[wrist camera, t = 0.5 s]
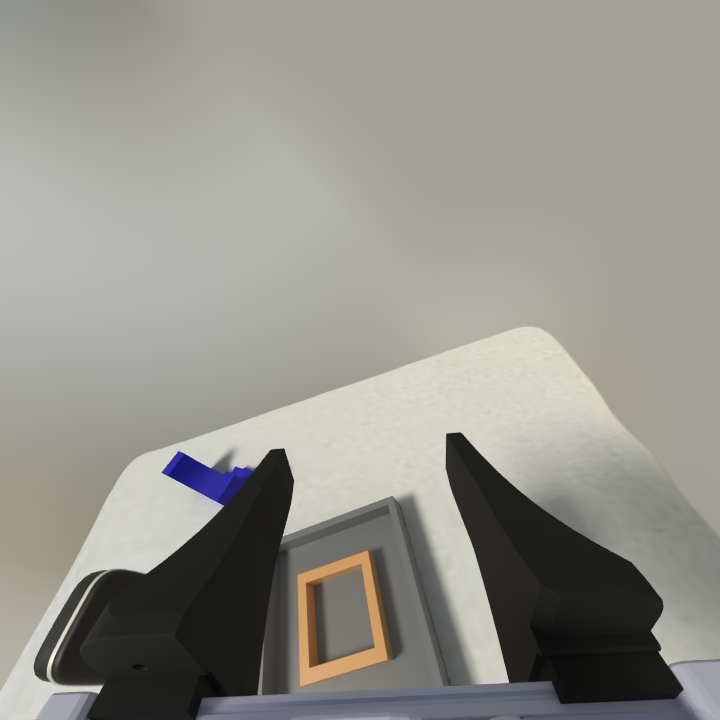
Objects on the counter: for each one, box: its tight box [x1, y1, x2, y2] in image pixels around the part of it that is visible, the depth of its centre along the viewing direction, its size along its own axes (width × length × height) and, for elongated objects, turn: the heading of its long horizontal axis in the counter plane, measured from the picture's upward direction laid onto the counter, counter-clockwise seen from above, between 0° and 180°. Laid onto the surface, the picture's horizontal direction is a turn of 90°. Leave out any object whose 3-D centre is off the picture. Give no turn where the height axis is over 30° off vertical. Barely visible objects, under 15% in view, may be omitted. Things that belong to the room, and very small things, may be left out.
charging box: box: [258, 496, 451, 695], centre depth 25 cm, size 14×14×2 cm
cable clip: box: [162, 451, 254, 506], centre depth 38 cm, size 12×4×6 cm, turn 65°
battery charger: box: [34, 569, 146, 687], centre depth 26 cm, size 7×4×11 cm, turn 177°
